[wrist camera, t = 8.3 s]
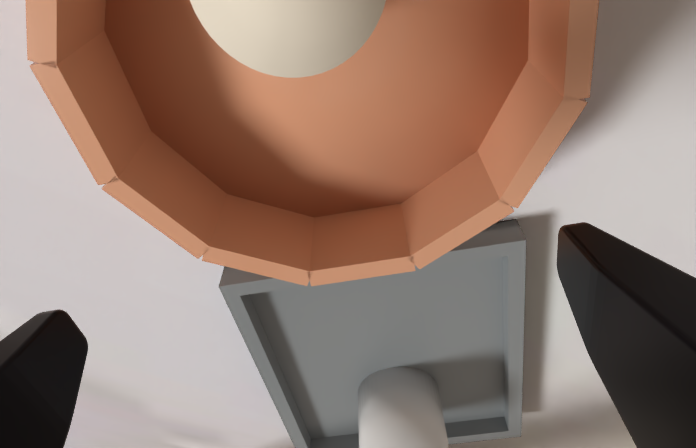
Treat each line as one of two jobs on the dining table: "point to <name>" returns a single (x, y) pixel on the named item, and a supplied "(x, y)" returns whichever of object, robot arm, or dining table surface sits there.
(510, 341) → the parts tray
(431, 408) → the pebble grey
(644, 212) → the dining table surface
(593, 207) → the dining table surface
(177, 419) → the dining table surface
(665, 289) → the robot arm
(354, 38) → the pebble sand
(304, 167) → the bowl
